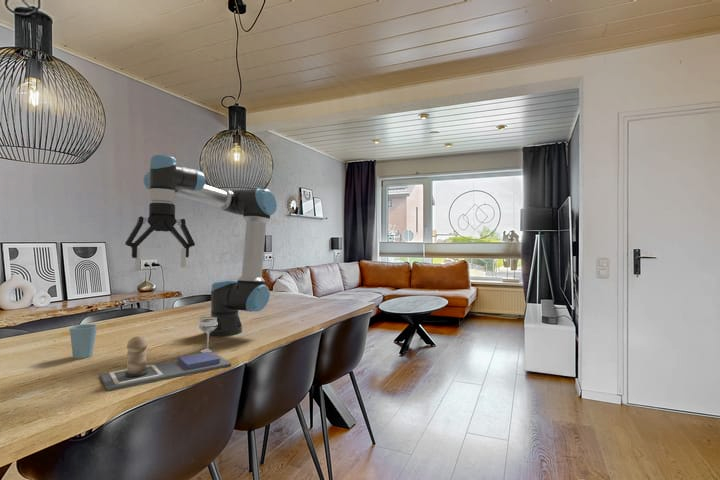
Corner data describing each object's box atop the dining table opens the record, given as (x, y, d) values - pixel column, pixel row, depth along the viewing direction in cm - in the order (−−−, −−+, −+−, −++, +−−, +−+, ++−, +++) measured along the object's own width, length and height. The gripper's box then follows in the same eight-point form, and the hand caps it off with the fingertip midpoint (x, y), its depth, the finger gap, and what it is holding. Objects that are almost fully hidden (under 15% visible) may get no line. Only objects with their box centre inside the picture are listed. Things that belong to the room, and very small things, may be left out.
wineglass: (194, 350, 140) (195, 318, 140) (212, 347, 145) (212, 315, 145) (202, 354, 135) (203, 321, 135) (220, 350, 140) (221, 318, 140)
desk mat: (215, 355, 134) (215, 348, 134) (231, 365, 124) (231, 358, 124) (100, 376, 112) (100, 368, 112) (107, 390, 101) (107, 381, 101)
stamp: (145, 369, 116) (146, 333, 116) (149, 375, 112) (150, 337, 112) (123, 373, 112) (124, 336, 112) (127, 379, 108) (128, 340, 108)
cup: (83, 352, 135) (84, 323, 135) (101, 354, 134) (102, 324, 134) (63, 358, 128) (63, 328, 128) (82, 360, 127) (83, 329, 127)
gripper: (198, 206, 135) (196, 266, 134) (115, 200, 118) (114, 268, 118) (205, 205, 129) (204, 267, 129) (119, 198, 113) (118, 269, 112)
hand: (161, 267), depth 123 cm, fingers open, 13 cm apart
